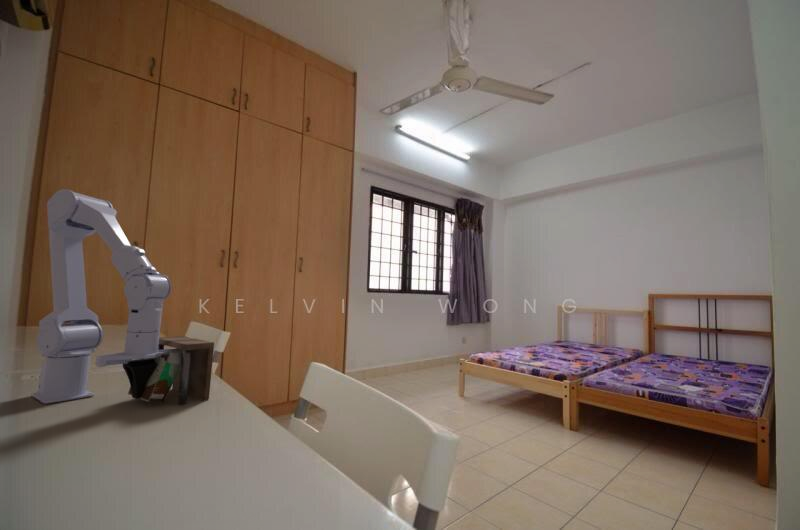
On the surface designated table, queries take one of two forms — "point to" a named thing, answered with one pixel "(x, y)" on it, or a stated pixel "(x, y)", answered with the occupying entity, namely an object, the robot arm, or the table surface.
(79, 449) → the table surface
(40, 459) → the table surface
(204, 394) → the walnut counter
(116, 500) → the table surface
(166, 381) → the food container
